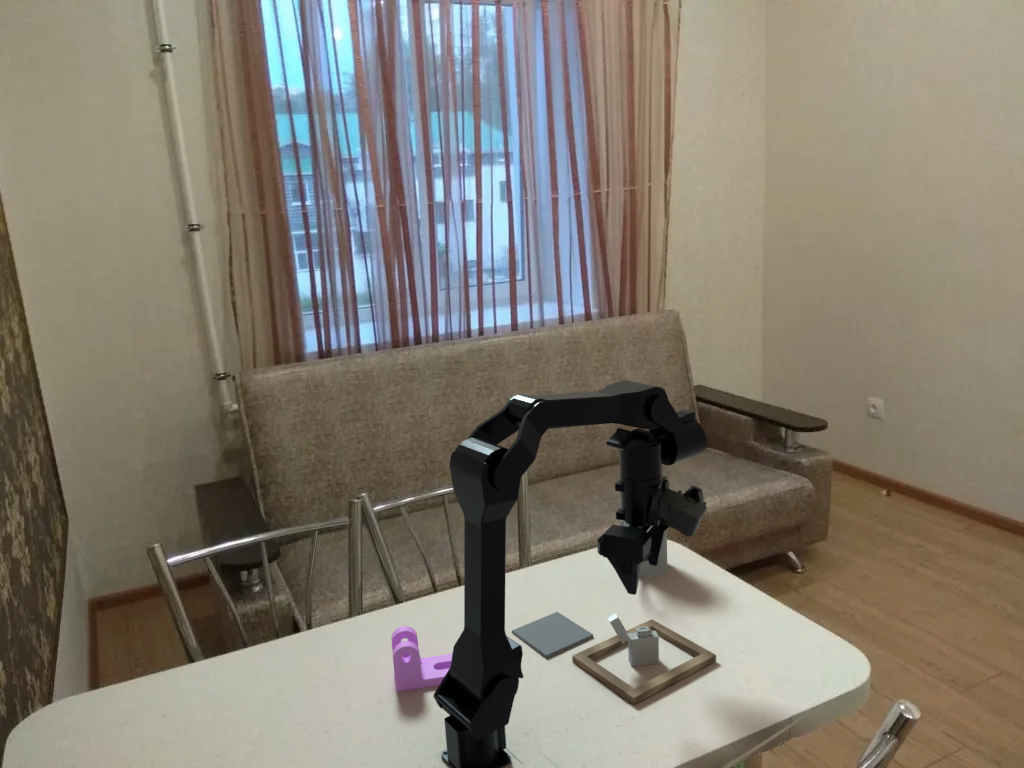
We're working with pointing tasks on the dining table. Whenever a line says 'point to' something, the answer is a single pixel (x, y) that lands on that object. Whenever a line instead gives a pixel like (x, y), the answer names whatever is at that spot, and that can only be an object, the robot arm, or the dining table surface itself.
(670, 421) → the robot arm
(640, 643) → the lighter
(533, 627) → the mat
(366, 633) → the dining table surface
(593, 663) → the frame
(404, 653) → the bracket
